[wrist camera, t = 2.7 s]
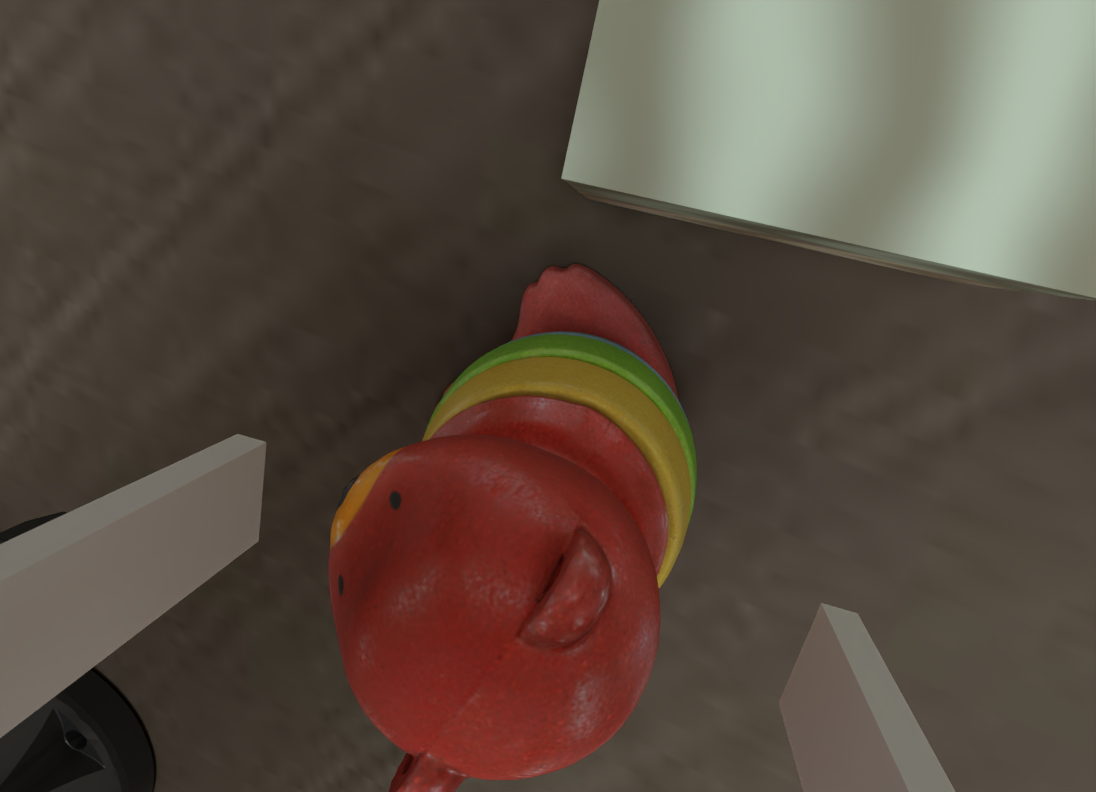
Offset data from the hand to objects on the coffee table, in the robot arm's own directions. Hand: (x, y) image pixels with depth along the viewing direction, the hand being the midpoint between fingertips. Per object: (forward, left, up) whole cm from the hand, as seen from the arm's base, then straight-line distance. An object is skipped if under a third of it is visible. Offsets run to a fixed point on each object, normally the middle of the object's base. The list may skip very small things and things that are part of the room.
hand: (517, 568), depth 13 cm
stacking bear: (0, 0, -14) cm, 14 cm away
